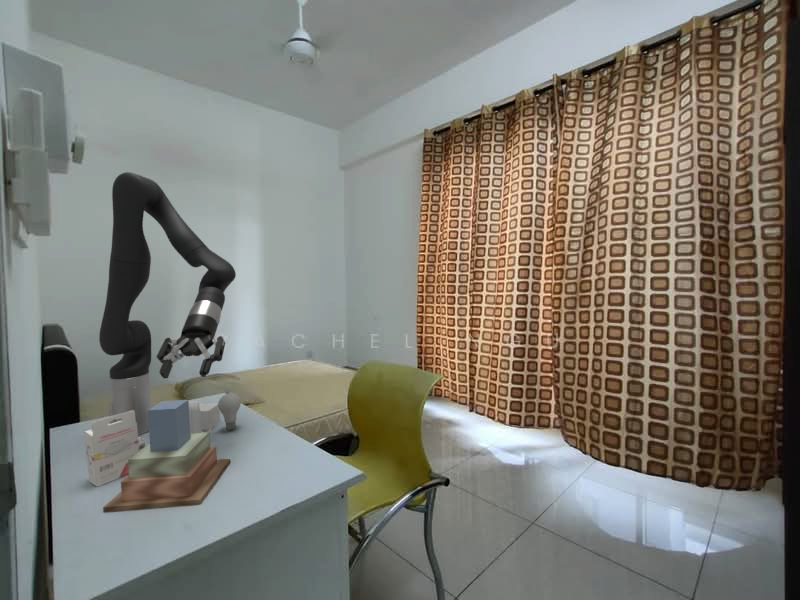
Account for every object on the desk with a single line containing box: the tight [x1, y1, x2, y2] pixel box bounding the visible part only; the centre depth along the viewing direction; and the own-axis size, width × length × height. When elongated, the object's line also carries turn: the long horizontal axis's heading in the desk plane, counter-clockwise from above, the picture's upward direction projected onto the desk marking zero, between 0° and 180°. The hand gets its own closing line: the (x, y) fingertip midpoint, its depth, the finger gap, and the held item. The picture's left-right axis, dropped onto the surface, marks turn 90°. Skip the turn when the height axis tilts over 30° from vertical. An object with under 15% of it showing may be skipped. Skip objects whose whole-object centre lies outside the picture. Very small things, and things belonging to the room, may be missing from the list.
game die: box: [138, 436, 146, 450], centre depth 94 cm, size 4×4×3 cm
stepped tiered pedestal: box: [102, 431, 231, 513], centre depth 77 cm, size 18×16×9 cm
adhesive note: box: [199, 403, 221, 431], centre depth 108 cm, size 6×6×6 cm
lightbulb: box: [217, 392, 242, 431], centre depth 105 cm, size 6×6×11 cm
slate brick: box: [148, 399, 191, 452], centre depth 76 cm, size 6×6×9 cm
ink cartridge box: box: [84, 410, 140, 487], centre depth 81 cm, size 9×5×15 cm, turn 148°
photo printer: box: [187, 399, 202, 434], centre depth 95 cm, size 10×4×12 cm, turn 123°
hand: (183, 376), depth 82 cm, fingers open, 8 cm apart
